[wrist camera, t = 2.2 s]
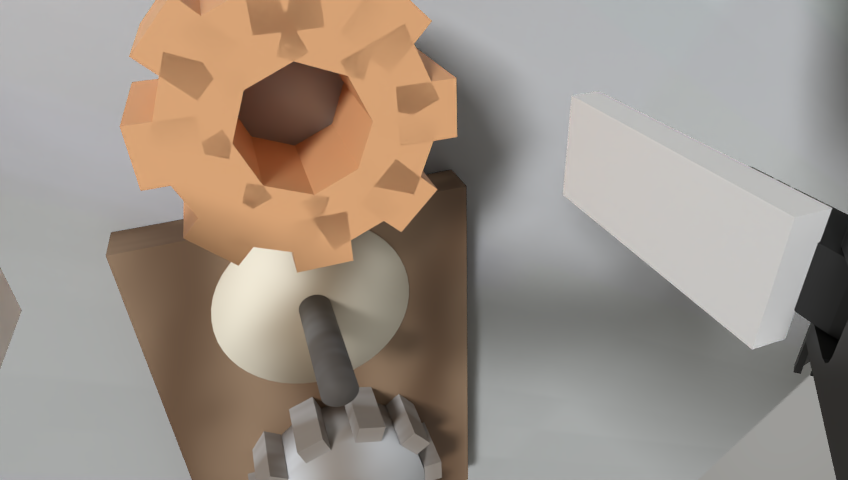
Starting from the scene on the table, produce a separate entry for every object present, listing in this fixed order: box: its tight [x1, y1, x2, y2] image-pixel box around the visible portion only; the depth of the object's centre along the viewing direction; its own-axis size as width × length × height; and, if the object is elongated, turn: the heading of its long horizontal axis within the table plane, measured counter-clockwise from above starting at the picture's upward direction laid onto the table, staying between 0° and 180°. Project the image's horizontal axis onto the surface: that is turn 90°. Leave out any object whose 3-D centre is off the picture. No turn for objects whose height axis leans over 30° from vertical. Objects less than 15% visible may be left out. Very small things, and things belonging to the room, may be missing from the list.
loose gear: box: [120, 0, 457, 273], centre depth 18 cm, size 9×9×4 cm
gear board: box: [106, 170, 468, 480], centre depth 31 cm, size 16×22×8 cm
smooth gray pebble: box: [238, 61, 344, 145], centre depth 22 cm, size 5×5×6 cm
